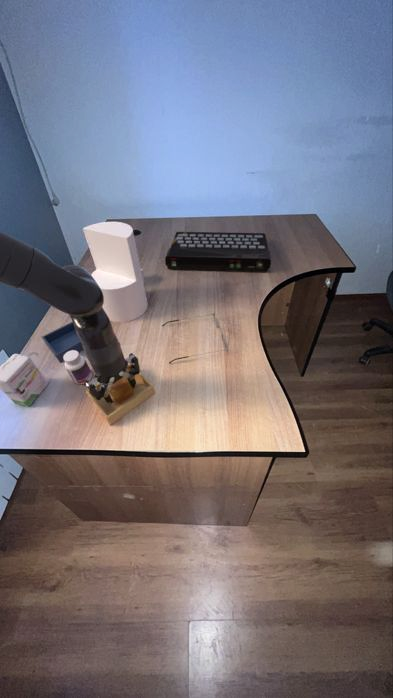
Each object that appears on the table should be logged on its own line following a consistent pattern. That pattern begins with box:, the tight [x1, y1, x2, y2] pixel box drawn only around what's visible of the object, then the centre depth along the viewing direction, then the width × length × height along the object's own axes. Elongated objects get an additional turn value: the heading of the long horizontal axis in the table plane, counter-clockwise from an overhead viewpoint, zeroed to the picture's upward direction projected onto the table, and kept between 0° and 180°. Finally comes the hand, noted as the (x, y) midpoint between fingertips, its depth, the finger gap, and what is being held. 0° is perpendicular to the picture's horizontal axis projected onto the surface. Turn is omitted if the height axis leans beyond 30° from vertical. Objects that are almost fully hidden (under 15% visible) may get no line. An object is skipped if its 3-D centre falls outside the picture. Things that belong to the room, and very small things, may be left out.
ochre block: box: [109, 377, 134, 404], centre depth 71 cm, size 5×5×5 cm
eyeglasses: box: [161, 312, 229, 364], centre depth 86 cm, size 18×19×4 cm
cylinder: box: [82, 221, 149, 323], centre depth 90 cm, size 17×17×28 cm
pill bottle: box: [63, 350, 93, 385], centre depth 74 cm, size 5×5×10 cm
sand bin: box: [85, 363, 156, 426], centre depth 72 cm, size 14×11×4 cm
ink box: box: [0, 353, 49, 408], centre depth 70 cm, size 8×5×12 cm, turn 164°
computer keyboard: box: [164, 231, 272, 273], centre depth 123 cm, size 45×28×7 cm, turn 84°
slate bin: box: [41, 321, 84, 363], centre depth 86 cm, size 11×11×4 cm
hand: (121, 393), depth 72 cm, fingers open, 6 cm apart
